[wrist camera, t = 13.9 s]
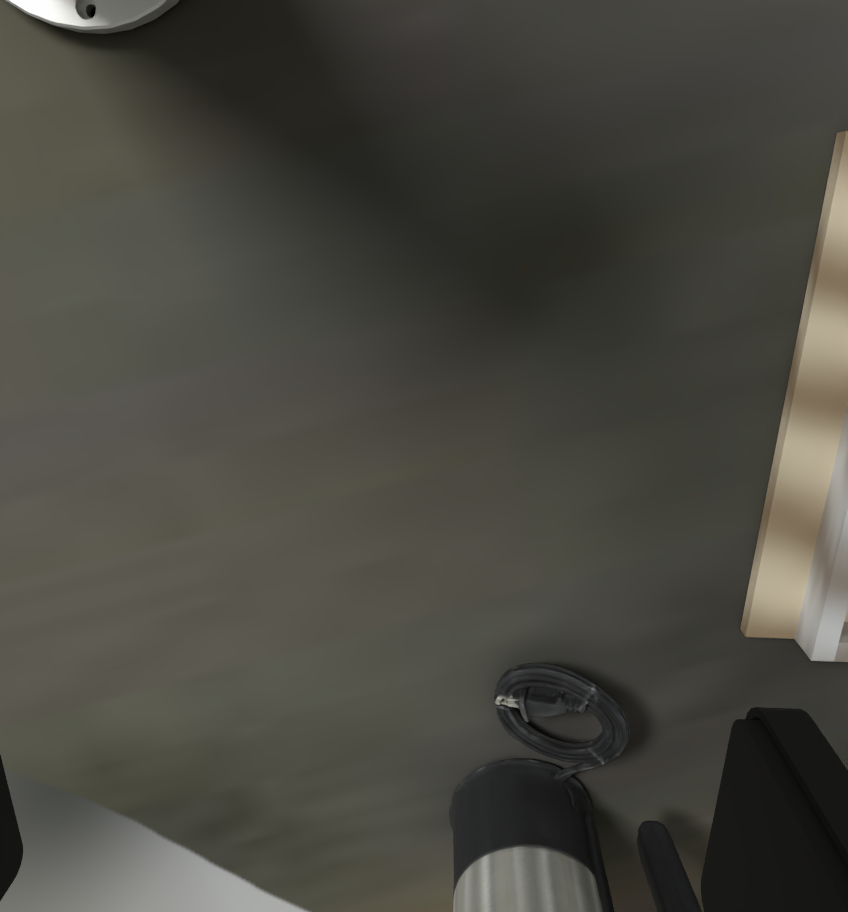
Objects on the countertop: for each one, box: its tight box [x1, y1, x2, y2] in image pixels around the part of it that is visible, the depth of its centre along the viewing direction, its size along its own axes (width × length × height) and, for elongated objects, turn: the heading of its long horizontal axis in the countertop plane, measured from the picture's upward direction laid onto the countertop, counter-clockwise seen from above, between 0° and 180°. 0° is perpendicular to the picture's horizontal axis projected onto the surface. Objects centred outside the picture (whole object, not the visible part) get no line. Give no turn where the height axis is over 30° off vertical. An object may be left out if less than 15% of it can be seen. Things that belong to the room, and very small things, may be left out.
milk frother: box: [449, 663, 702, 912], centre depth 37 cm, size 14×16×15 cm
